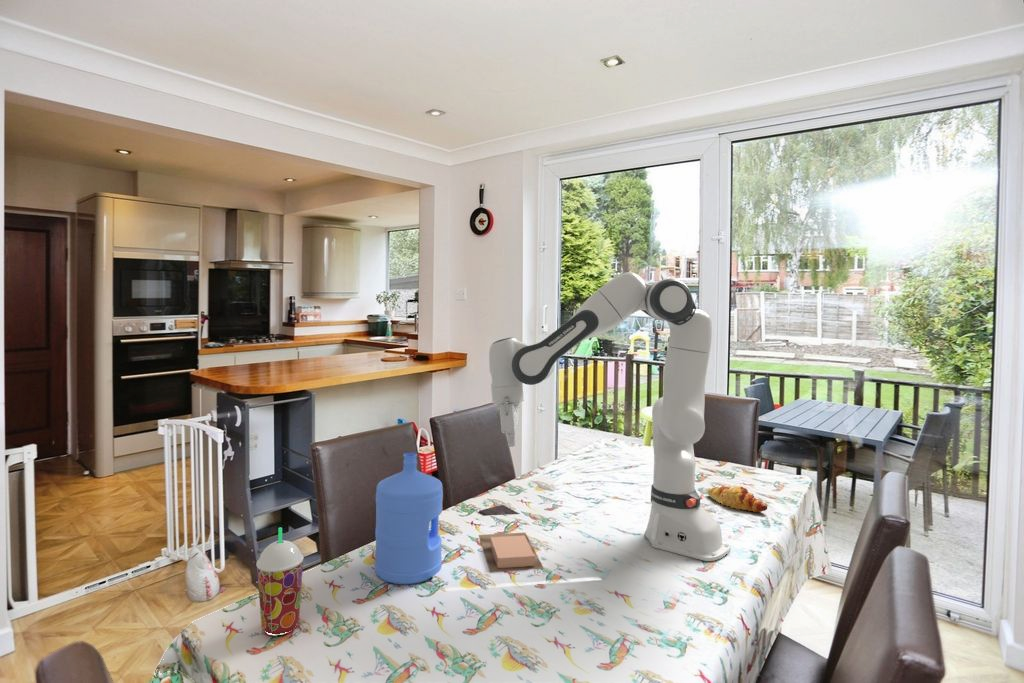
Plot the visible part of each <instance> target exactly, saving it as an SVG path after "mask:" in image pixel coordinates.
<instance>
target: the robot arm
mask: <svg viewBox="0 0 1024 683" xmlns="http://www.w3.org/2000/svg"><path fill="white" fill-rule="evenodd" d="M638 311H641V312H642V313H645V315H647V316H649V317H650V318H652V319H656V320H659V321H664V322H665V323H667V324H668V327H669V339H668V342H667V351H666V354H665V355H666V356H665V361H664V366H663V373H662V376H663V390H662V391H663V393H662V394H663V395H662V396H661V397H659V398H658V399H657V400H656V401H655V402H654V404H653V406H652V409H651V410H652V411H651V420H652V421H651V422H652V423H651V424H652V427H651V428H652V444H653V446H652V447H653V478H652V480H653V481H652V484H651V488H650V489H651V490H650V503H651V504H650V512H649V518H648V523H647V526H646V528H645V533H644V536H645V537H646V539H647V540H648V541H649V542H650V546H651V547H653V548H656V549H660V550H663V551H666V552H670V553H674V554H678V555H681V556H686V557H689V558H692V559H696V560H697V559H698V560H701V561H704V562H712V561H713V562H714V561H717V560H720V559H723V558H724V557H725V555H726V554H727V555H728V554H729V553H730V552H729V551H731V544H730V542H728V541H727V540H724V539H723V536H722V535H723V534H722V529H721V525H720V524H719V522H718V521H717V520H716V519H715V518H714V517H712V515H711V514H710V513H709V512H707V510H706V509H705V508H704V507H703V506H702V505H701V500H703V499H704V497H703V496H704V494H703V493H702V494H700V495H699V494H698V493H697V490H696V488H695V483H696V482H695V481H696V464H697V460H696V456H695V452H694V444H696V443H697V442H699V441H700V440H701V439H702V437H703V436H704V434H705V432H706V431H705V430H706V423H705V408H706V406H705V404H706V403H705V402H706V401H705V400H706V394H705V393H706V392H705V391H706V390H705V389H706V388H705V387H706V386H705V385H706V378H707V377H706V376H707V370H708V364H709V359H710V355H711V353H710V352H711V346H712V338H713V337H712V335H713V334H712V332H713V331H712V330H713V327H712V326H713V325H712V323H713V322H712V318H711V316H710V315H709V314H708V313H707V312H706V311H703V310H702V309H698V308H697V306H696V303H695V301H694V298H693V296H692V292H691V290H690V288H689V287H688V286H687V284H685V283H684V282H682V281H681V280H678V279H676V278H675V279H674V278H666V279H665V278H664V279H659V280H657V281H654V282H650V283H647V282H645V281H644V279H643V278H642V277H641V276H639V274H636V273H635V272H630V271H627V272H624V273H621V274H619V275H617V276H616V277H614V278H612V279H611V280H609V281H608V282H606V283H605V284H603V285H601V286H600V288H598V289H597V290H596V291H595V292H594V293H592V294H591V295H589V297H587V299H586V300H584V302H583V303H582V304H581V305H580V307H579V308H578V309H577V310H576V311H575V313H573V315H572V316H571V317H570V318H569V319H568V320H567V321H566V322H565V323H564V324H563V325H561V326H560V327H558V328H557V329H556V330H554V332H552V333H550V334H549V335H548V336H547V337H546V338H544V339H543V340H542V341H540V342H537V343H534V344H527V343H524V342H522V341H520V340H518V339H517V338H516V337H507V338H502V339H499V340H495V341H494V342H493V343H491V345H490V347H489V350H488V351H489V353H488V361H489V363H488V365H489V373H490V376H491V385H490V389H491V402H492V405H496V406H497V408H496V409H497V410H499V417H500V430H501V433H502V434H506V439H507V445H508V447H509V448H510V447H511V448H512V447H515V446H516V430H517V428H518V426H519V419H520V418H519V417H520V415H519V413H520V409H519V408H520V407H521V404H520V402H524V401H525V399H524V398H525V397H524V388H523V386H524V385H523V384H525V385H529V386H532V385H537V384H540V383H542V382H543V381H545V380H547V379H548V378H549V377H550V376H552V374H553V373H554V369H555V363H556V362H557V361H558V360H559V359H561V358H562V357H563V356H564V355H565V354H567V353H568V352H569V351H570V350H572V349H573V348H574V347H576V346H577V345H579V344H580V343H582V342H583V341H585V340H587V339H590V338H593V337H594V338H595V337H597V336H601V335H603V334H605V333H607V332H609V331H611V330H613V329H614V328H616V327H618V325H620V324H621V323H624V321H625V320H626V319H627V318H629V317H630V316H631V315H633V314H635V313H636V312H638ZM727 555H726V556H727ZM723 556H724V557H723Z"/></svg>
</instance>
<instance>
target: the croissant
mask: <svg viewBox="0 0 1024 683" xmlns="http://www.w3.org/2000/svg"><path fill="white" fill-rule="evenodd" d="M706 492H707V495H708V496H709V497H711V499H713V501H715V500H716V502H717V503H718V504H720V503H721V504H720V505H722V506H724V505H726V506H725V507H728V506H730V507H732V508H731V509H733V508H737V509H736V510H740V509H742V510H743V511H746V510H748V511H747V512H750V511H753V512H754V513H761V512H766V510H768V505H767V504H766V503H763V501H762V500H760V499H758V498H756V497H755V495H754V494H753V493H751V492H749V491H748V489H747V488H746V487H744V486H742V485H736V486H732V487H731V486H725V485H723V486H720V487H717V486H716V487H715V486H714V487H712V488H708V489H707V490H706ZM730 507H729V508H730ZM742 510H741V511H742ZM753 512H752V513H753Z"/></svg>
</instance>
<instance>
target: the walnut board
mask: <svg viewBox="0 0 1024 683" xmlns="http://www.w3.org/2000/svg"><path fill="white" fill-rule="evenodd" d="M523 535H525V537H526V539H527V541H528V543H529V545H530V547H531V549H532V551H533V553H534V555H535V566H525V567H510V568H498V567H497V564H496V562H495V559H494V556H493V553H492V550H491V547H490V538H491V537H504V536H523ZM478 538H479V541H480V544H481V547H482V550H483V553H484V557H485V560H486V563H487V566H488V569H489V572H490V573H493V572H494V573H495V572H512V571H524V570H540V569H541V570H542V569H544V566H543V564H542V562H541V560H540V559H539V556H538V554H537V553H536V550H535V549H534V546H533V544H532V543H531V541H530V539H529V537H528V534H527V533H526V532H511V533H510V532H509V533H508V532H507V533H491V534H490V533H489V534H478Z"/></svg>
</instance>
